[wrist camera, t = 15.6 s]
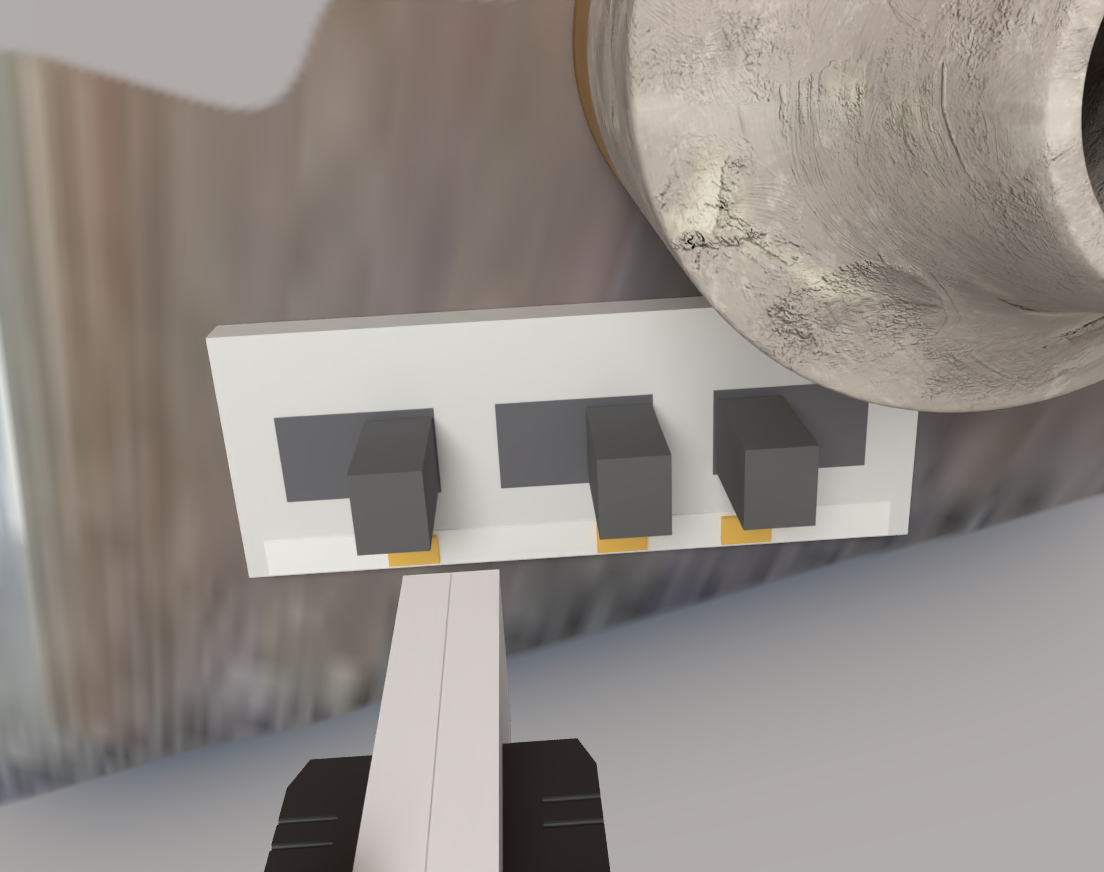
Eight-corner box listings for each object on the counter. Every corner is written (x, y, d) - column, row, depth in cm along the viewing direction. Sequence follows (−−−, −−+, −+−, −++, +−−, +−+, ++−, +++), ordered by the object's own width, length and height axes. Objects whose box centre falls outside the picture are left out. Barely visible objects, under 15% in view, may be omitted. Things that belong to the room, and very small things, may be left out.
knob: (716, 471, 49) (743, 530, 43) (716, 399, 47) (745, 450, 42) (779, 467, 49) (815, 525, 43) (782, 395, 47) (819, 445, 42)
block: (374, 493, 48) (357, 555, 43) (364, 421, 47) (346, 475, 41) (438, 489, 48) (430, 550, 43) (431, 417, 47) (421, 470, 41)
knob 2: (588, 479, 49) (599, 539, 43) (585, 407, 47) (597, 459, 42) (652, 475, 49) (672, 535, 43) (651, 403, 47) (671, 455, 42)
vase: (804, 330, 49) (1219, 762, 21) (485, 83, 44) (456, 204, 16) (1095, -10, 44) (2172, -55, 16) (771, -330, 39) (1470, -1229, 11)
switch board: (258, 557, 52) (247, 581, 50) (217, 325, 47) (203, 340, 45) (893, 516, 53) (910, 538, 50) (912, 283, 48) (932, 296, 46)
